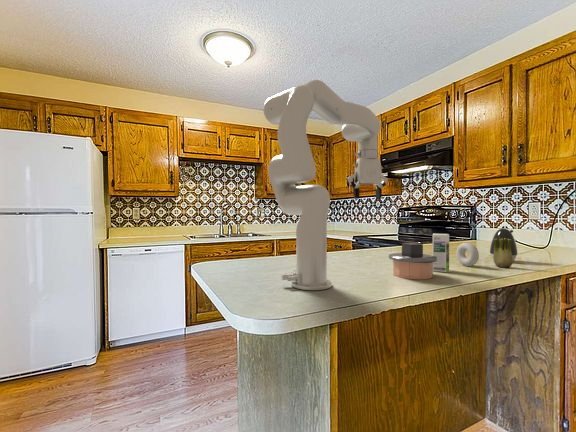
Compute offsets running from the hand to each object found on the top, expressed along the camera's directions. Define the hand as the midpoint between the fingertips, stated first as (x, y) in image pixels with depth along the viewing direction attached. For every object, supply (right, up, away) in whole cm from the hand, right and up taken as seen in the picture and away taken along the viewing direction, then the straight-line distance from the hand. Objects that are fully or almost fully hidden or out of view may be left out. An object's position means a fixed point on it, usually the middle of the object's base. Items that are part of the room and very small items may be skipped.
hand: (367, 198), depth 115 cm
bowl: (+13, -28, -11) cm, 33 cm away
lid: (+13, -22, -11) cm, 28 cm away
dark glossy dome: (+68, -28, +18) cm, 76 cm away
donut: (+44, -28, +7) cm, 53 cm away
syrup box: (+28, -29, -3) cm, 40 cm away
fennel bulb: (+57, -28, +4) cm, 64 cm away
